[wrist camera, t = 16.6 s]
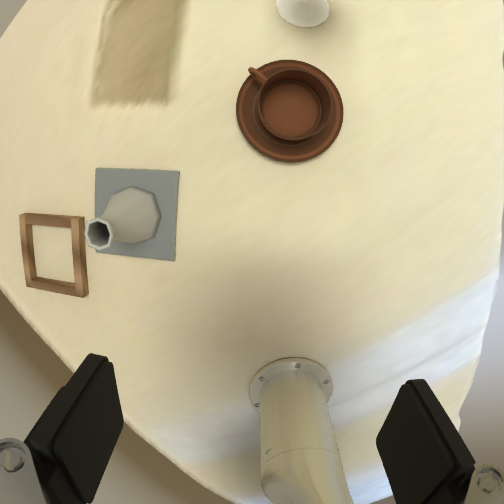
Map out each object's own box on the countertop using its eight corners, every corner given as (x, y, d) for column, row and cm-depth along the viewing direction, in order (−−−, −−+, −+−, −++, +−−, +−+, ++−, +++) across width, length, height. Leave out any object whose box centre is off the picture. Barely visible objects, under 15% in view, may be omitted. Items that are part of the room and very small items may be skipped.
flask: (162, 244, 38) (134, 272, 29) (109, 242, 38) (71, 268, 29) (161, 185, 36) (130, 196, 27) (107, 186, 36) (65, 197, 27)
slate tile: (175, 259, 40) (173, 261, 39) (97, 251, 39) (95, 252, 39) (179, 171, 36) (178, 171, 36) (97, 167, 36) (95, 168, 36)
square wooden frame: (88, 293, 41) (83, 297, 40) (32, 282, 41) (26, 286, 39) (84, 217, 38) (78, 219, 37) (25, 212, 38) (19, 215, 36)
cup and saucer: (220, 137, 35) (214, 133, 30) (261, 49, 32) (262, 31, 26) (315, 178, 37) (326, 182, 31) (353, 91, 34) (370, 80, 28)
